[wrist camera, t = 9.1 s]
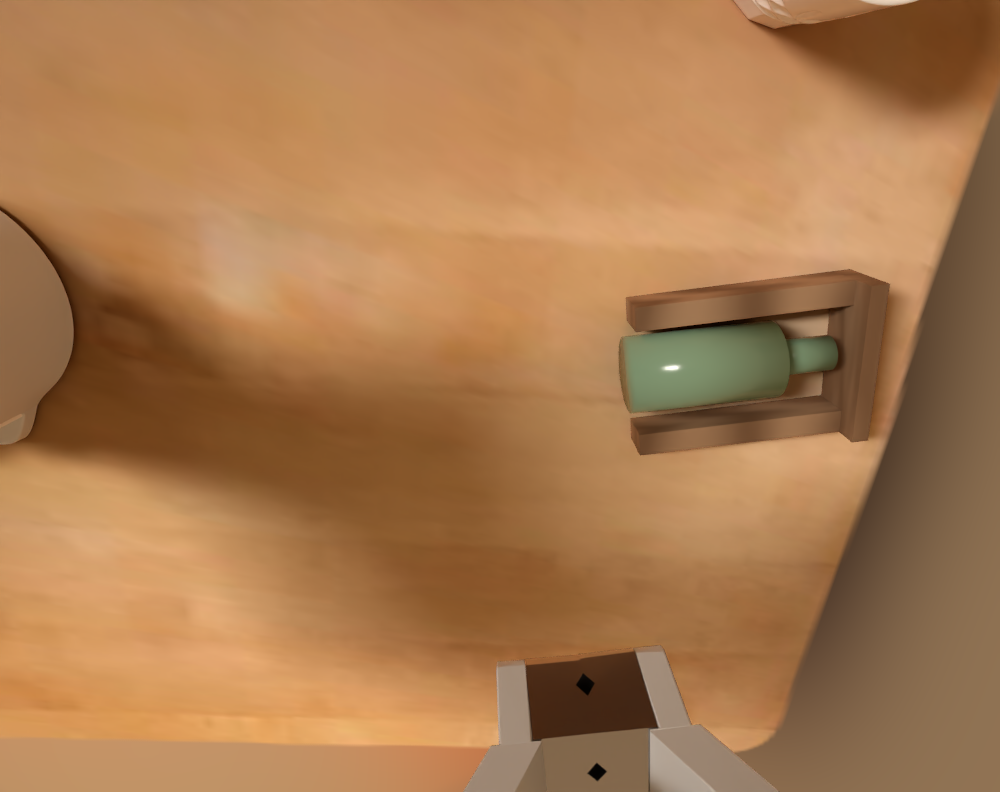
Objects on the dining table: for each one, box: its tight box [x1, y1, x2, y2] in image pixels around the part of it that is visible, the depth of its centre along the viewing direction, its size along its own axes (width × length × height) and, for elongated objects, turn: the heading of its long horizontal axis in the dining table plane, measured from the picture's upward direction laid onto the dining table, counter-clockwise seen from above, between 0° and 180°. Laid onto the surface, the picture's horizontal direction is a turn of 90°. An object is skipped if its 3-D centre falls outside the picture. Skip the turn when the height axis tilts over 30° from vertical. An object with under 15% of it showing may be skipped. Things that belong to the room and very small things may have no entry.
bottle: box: [619, 320, 838, 413], centre depth 38 cm, size 5×5×12 cm
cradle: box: [626, 269, 890, 455], centre depth 38 cm, size 14×10×4 cm
